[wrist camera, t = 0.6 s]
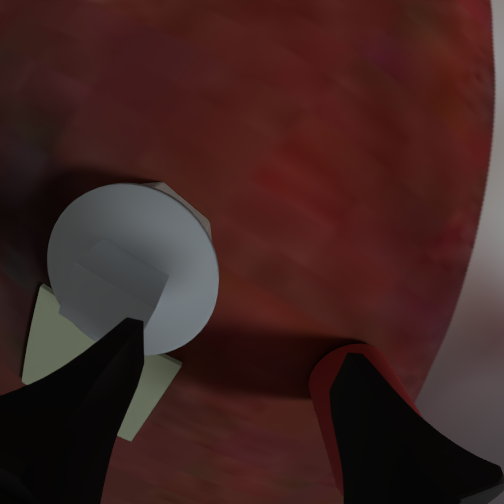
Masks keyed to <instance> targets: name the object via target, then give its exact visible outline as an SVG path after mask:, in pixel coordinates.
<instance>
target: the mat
mask: <svg viewBox="0 0 504 504" xmlns="http://www.w3.org/2000/svg"><path fill="white" fill-rule="evenodd" d="M59 309H60V305H59V303H58V301H57V299H56V297H55V294H54V292H53V289H51V288H50V287H48V286H47V285H45V284H42V285H41V286H40V290H39V294H38V298H37V302H36V306H35V310H34V315H33V319H32V324H31V329H30V334H29V339H28V344H27V350H26V356H25V362H24V369H23V376H22V382H23V383H25V384H26V385H29V384H31V383H33V382H35V381H37V380H39V379H42V378H43V377H45V376H47V375H49V374H51V373H52V372H54V371H56V370H57V369H59V368H61V367H62V366H64V365H65V364H67V363H68V362H70V361H71V360H73V359H74V358H76V357H77V356H78V355H80V354H81V353H83V352H84V351H85V350H87V349H88V348H89V347H91V346H92V345H93V344H94V343H96V342H95V341H94V340H92V339H91V338H89V337H88V336H87V335H85V334H84V333H83V332H82V331H80V330H79V329H78V328H77V327H76V326H75V325H74V324H73V323H72V322H71V321H70V320H68V319H66V318H65V317H63V316H62V315H60V314H59V313H58V312H59ZM181 366H182V362H181V361H179V360H177V359H174V358H172V357H170V356H168V355H166V354H164V353H162V354H157V355H144V366H143V370H142V373H141V377H140V380H139V384H138V387H137V389H136V392H135V394H134V396H133V399H132V401H131V403H130V406H129V408H128V410H127V413H126V415H125V417H124V420H123V422H122V425H121V427H120V429H119V432H118V434H117V436H120V437H122V438H124V439H126V440H129V441H132V439H133V438H134V436H135V435H136V433H137V432H138V430H139V429H140V427H141V426H142V424H143V423H144V421H145V420H146V418H147V417H148V416H149V414H150V413H151V411H152V410H153V408H154V407H155V405H156V404H157V402H158V401H159V399H160V398H161V396H162V395H163V393H164V392H165V390H166V389H167V387H168V386H169V384H170V383H171V381H172V380H173V378H174V377H175V375H176V374H177V372H178V371H179V369H180V368H181Z"/></svg>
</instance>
